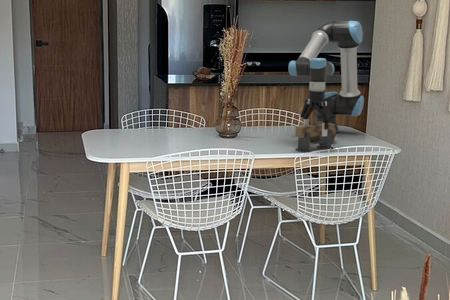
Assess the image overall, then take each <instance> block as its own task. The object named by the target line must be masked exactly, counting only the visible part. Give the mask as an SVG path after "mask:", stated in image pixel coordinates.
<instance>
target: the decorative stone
mask: <svg viewBox="0 0 450 300" xmlns="http://www.w3.org/2000/svg"><path fill="white" fill-rule="evenodd" d="M318 124H323V122H322V121H316V122H315V121H314V123H313V125H318ZM336 136H337V133H336V130H335V128H334V134H332V138H331V144H332V143H333V142H334V141H335V138H336ZM310 142H320V136H313V137H310Z"/></svg>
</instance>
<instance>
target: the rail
mask: <svg viewBox="0 0 450 300" xmlns="http://www.w3.org/2000/svg"><path fill="white" fill-rule="evenodd" d="M334 128H335V124H330V123H329V124H328V130H327V132H328V131H332V134H334ZM294 132H295V134H294V135H295V138H298V137H299V138H303V137H305V134H308V133H310V137H313V136H322V124H318V125H314V124H309V125H306V126H304V125H298V126H297V125H296V126H295V131H294Z"/></svg>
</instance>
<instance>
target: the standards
mask: <svg viewBox="0 0 450 300" xmlns="http://www.w3.org/2000/svg"><path fill="white" fill-rule="evenodd" d="M331 138H332V131H328V132H327V136H320V141H319V144H318V145H316V148H317V149H323V150H325V149H330V148H333V149H334V147H333V146H332V143H331ZM310 142H311V141H310V133H308V134H305V137H303V138H299V137H297V148H295V149H294V150H295V151H298V152H300V153H311V152H310V151H313V150H312V149H310V145H311V143H310ZM330 150H331V149H330Z"/></svg>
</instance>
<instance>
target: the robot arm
mask: <svg viewBox="0 0 450 300" xmlns="http://www.w3.org/2000/svg"><path fill="white" fill-rule="evenodd" d="M363 34H364V33H363V27H362V25H361V23H360V22H359V21H356V20H329V21H327V22H324V23H323V24H320V25H319V26H318V27H317V28H316V29H314V31H313V33H312V34H311V39H310V40H309V42H308V43H307V44H306V46H305V48H304V50H303V51H302V53H301V54H300V55H299V57H298V58H297V60H291V61H289V63H288V67H287V68H288V69H287V70H288V73H289V75H290V76H295V77H309V84H308V85H309V86H308V88H309V91H308V98H309V99H308V98H307V99H305V100H304V105H303V108H302V110H301V113H300V118H302V126H306V125H310V118H309V117H310V115H312V113H313V111H314V110H315V111H316V112H315V114H316V115H315V121H314V123H315V122H316V121H322V122H323V124H322V136H327V130H328V124H329V123H330V124H335V130H336V134H339V131H340V128H339V125H338V121H337V116H347V117H358V116H360V115H361V113H362V111H363V109H364V103H365V97H364V96H363V95H361V91H360V90H359V89H358V62H357V61H358V60H357V59H358V57H357V55H358V54H357V50H358V48H359V46H360V44H361V43H362V42H363V36H364V35H363ZM333 43H334V44H337V45H336V47H337V48H338V49H339V50H340V72H341V74H340V76H341V77H340V78H341V90H340V91H339V92H337V91H327V92H325V90H326V78H329V77H331V76H332V75H334V72H335V65H334V64H333V63H332V62H330V61H327V59H326V58H325V57H324V58H323V57H318V55H319V54H320V52H321V51H322V49H323V48H324V47H325V46H327V45H328V44H333Z"/></svg>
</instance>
